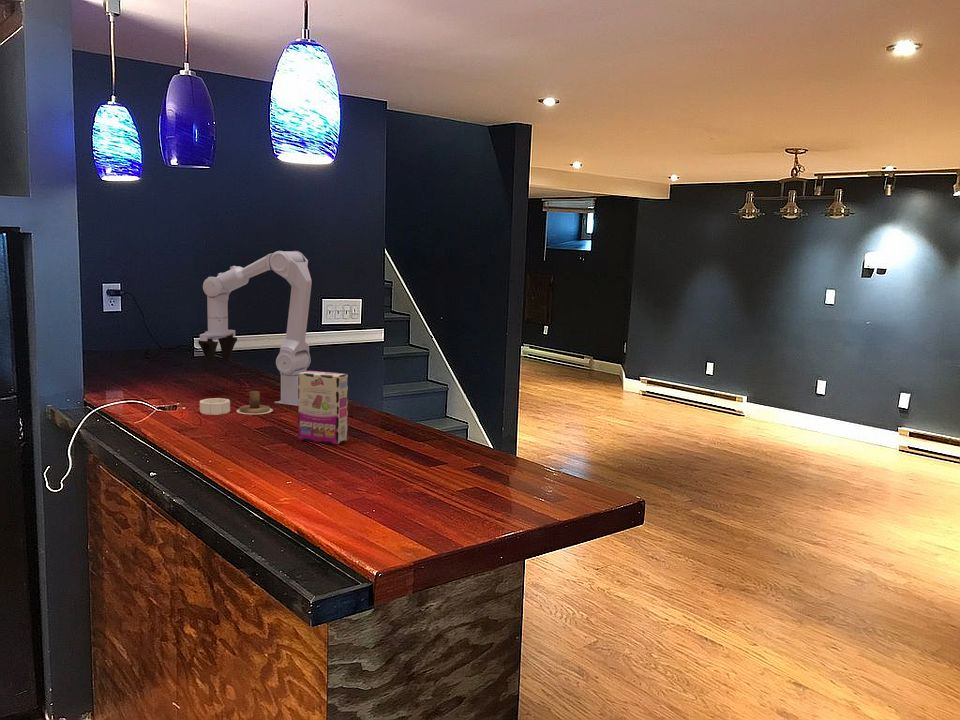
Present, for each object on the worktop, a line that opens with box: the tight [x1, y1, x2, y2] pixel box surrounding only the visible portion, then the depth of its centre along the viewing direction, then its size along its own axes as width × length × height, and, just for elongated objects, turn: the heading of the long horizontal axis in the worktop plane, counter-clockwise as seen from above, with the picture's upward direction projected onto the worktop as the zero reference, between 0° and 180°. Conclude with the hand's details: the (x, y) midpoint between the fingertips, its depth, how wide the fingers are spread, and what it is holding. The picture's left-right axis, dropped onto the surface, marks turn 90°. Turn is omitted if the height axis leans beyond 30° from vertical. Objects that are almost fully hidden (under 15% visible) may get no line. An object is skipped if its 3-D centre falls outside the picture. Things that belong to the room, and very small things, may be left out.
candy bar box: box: [297, 370, 349, 445], centre depth 186 cm, size 11×5×16 cm, turn 70°
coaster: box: [236, 407, 274, 415], centre depth 213 cm, size 10×10×1 cm
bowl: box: [199, 397, 231, 416], centre depth 210 cm, size 8×8×4 cm
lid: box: [238, 390, 271, 415], centre depth 213 cm, size 8×8×5 cm
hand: (218, 362), depth 233 cm, fingers open, 7 cm apart
